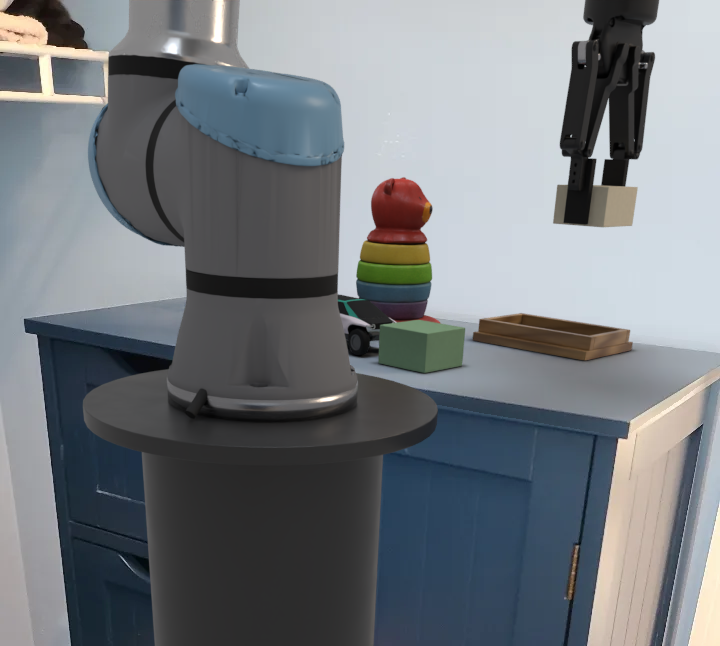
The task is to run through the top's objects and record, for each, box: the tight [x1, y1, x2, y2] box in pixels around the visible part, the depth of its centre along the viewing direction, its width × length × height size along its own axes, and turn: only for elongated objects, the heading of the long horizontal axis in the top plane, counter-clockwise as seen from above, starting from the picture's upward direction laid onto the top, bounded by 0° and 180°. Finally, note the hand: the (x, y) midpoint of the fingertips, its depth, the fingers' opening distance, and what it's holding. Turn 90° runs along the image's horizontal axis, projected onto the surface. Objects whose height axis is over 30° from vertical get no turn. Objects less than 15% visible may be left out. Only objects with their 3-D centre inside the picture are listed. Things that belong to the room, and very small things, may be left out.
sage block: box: [377, 320, 466, 374], centre depth 102 cm, size 6×6×4 cm
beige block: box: [552, 184, 639, 228], centre depth 107 cm, size 6×6×4 cm
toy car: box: [338, 293, 397, 356], centre depth 109 cm, size 6×12×5 cm, turn 40°
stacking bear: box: [355, 176, 441, 323], centre depth 116 cm, size 11×10×18 cm
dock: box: [472, 312, 634, 362], centre depth 116 cm, size 11×16×2 cm
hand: (592, 222), depth 108 cm, fingers closed on beige block, 6 cm apart
